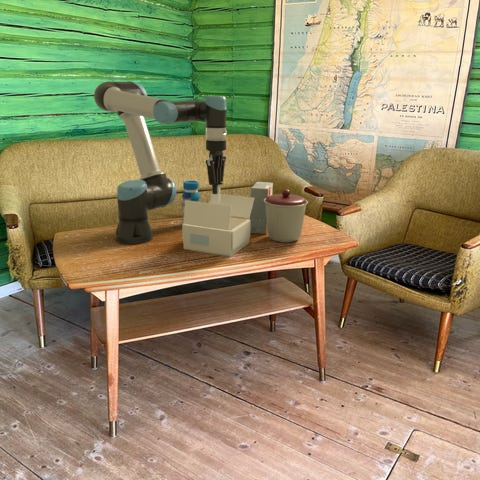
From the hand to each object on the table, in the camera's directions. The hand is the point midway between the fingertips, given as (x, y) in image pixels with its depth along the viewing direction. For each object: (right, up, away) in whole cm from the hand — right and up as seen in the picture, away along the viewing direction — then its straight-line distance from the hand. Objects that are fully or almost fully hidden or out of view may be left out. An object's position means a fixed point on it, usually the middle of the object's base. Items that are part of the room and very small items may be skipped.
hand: (216, 201), depth 186 cm
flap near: (-3, -5, -5) cm, 8 cm away
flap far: (+5, 0, +13) cm, 14 cm away
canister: (+28, -14, +17) cm, 36 cm away
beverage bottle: (-13, -8, +34) cm, 37 cm away
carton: (0, -17, +7) cm, 18 cm away
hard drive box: (+18, -10, +30) cm, 37 cm away
